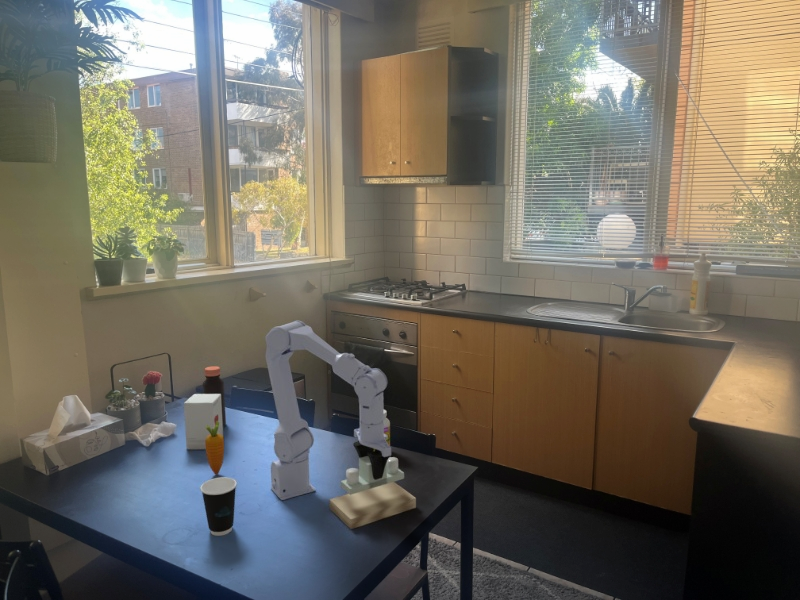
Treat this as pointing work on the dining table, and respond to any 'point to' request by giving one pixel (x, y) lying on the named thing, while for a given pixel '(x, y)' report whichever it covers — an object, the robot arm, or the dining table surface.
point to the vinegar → (215, 386)
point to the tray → (370, 476)
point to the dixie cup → (219, 504)
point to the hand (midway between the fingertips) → (372, 474)
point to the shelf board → (372, 504)
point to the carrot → (214, 448)
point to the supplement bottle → (386, 427)
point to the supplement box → (201, 418)
